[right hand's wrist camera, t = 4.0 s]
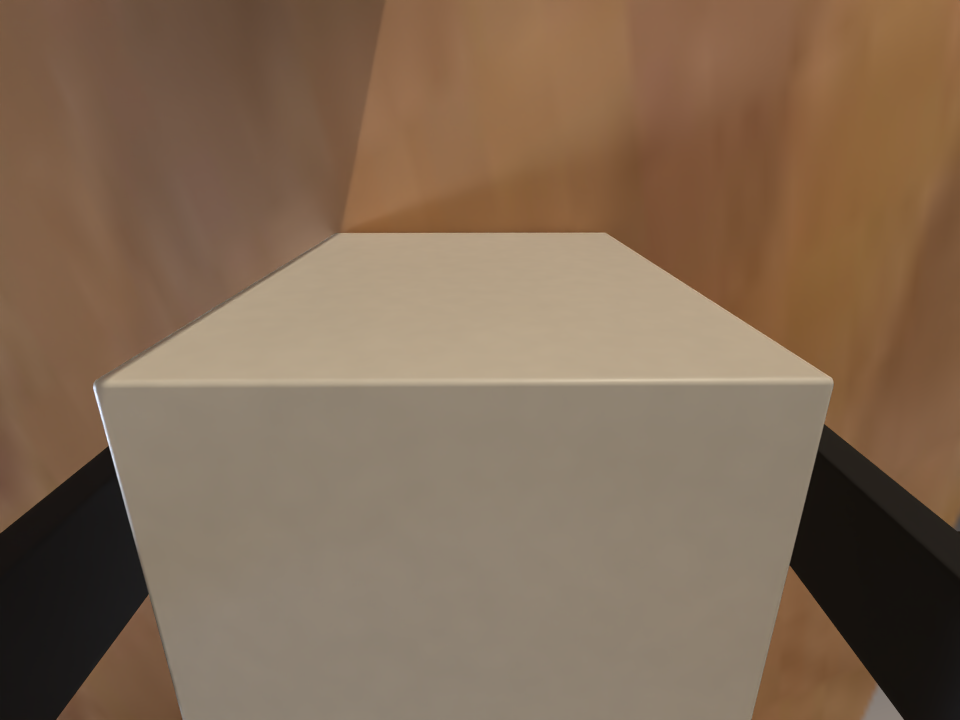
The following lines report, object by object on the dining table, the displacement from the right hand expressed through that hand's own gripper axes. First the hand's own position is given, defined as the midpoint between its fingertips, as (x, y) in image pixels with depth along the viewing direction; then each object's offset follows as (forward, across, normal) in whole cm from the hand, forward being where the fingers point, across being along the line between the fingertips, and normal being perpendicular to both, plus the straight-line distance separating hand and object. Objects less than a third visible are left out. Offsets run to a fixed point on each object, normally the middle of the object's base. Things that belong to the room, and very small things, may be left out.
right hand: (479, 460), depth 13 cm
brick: (+7, 0, 0) cm, 7 cm away
